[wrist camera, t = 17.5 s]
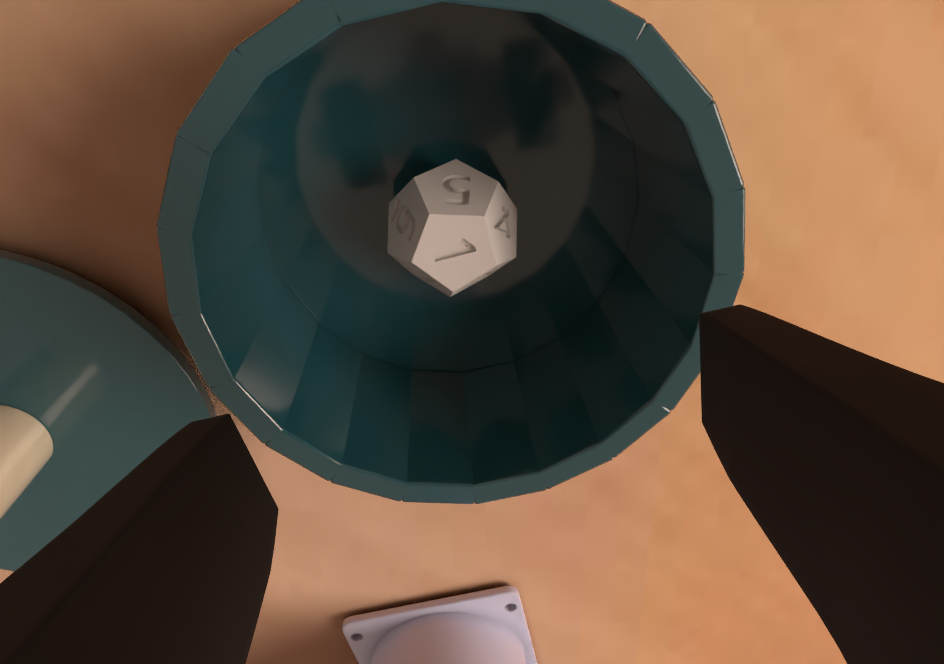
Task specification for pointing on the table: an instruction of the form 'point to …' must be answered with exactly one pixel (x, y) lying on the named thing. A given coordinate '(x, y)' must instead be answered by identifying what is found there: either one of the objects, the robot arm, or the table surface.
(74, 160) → the table surface
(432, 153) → the pot
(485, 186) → the game die
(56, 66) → the table surface
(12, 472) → the lid
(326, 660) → the table surface
